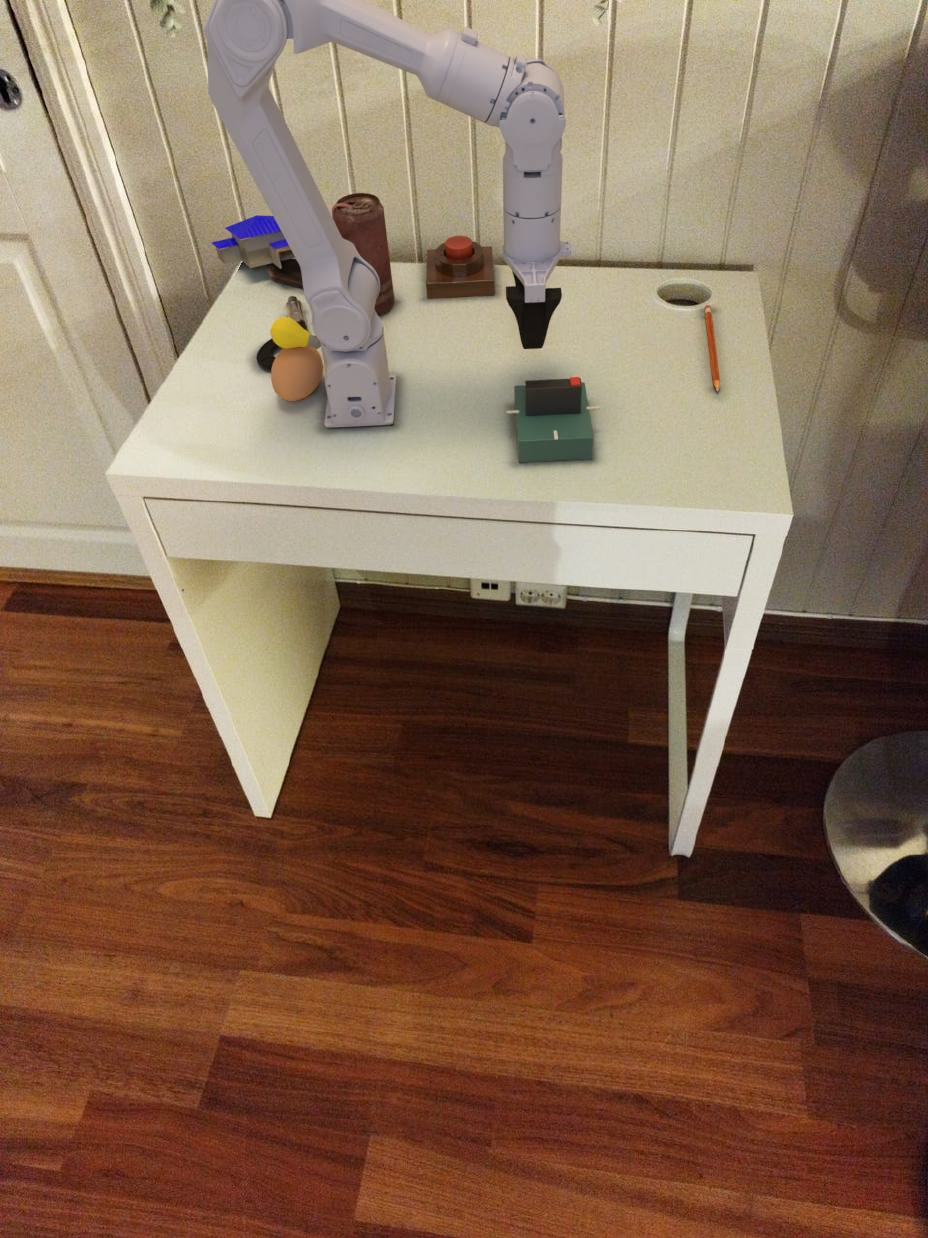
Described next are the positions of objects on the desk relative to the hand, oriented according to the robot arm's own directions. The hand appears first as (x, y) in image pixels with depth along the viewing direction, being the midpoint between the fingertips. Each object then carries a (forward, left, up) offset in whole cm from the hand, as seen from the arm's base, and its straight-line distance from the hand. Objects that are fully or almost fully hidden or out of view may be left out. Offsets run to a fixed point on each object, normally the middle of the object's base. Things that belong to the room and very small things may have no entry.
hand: (531, 327), depth 103 cm
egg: (+8, +26, -6) cm, 28 cm away
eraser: (+29, +29, -7) cm, 42 cm away
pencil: (+8, -23, -9) cm, 26 cm away
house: (+34, +35, -8) cm, 49 cm away
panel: (-7, -2, -9) cm, 12 cm away
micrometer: (+15, +31, -8) cm, 36 cm away
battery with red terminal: (-7, -2, -6) cm, 9 cm away
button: (+27, +8, -6) cm, 29 cm away
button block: (+27, +8, -9) cm, 30 cm away
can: (+22, +20, -10) cm, 31 cm away
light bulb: (+3, +27, -4) cm, 28 cm away
